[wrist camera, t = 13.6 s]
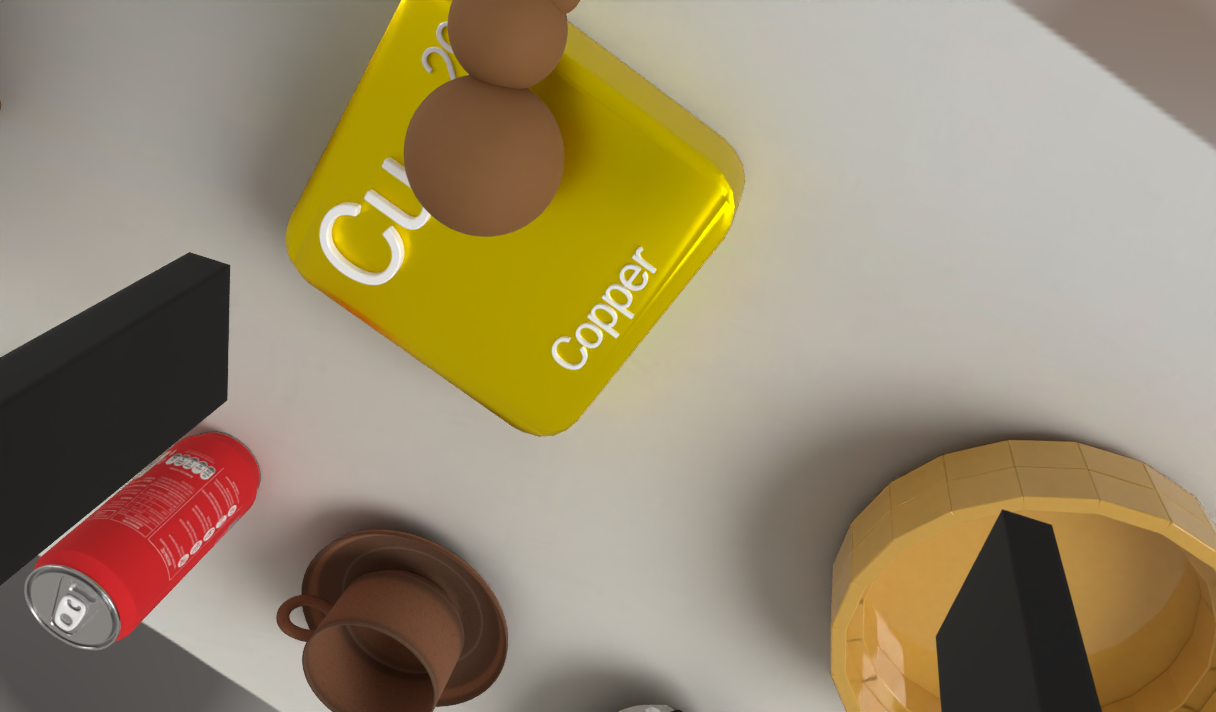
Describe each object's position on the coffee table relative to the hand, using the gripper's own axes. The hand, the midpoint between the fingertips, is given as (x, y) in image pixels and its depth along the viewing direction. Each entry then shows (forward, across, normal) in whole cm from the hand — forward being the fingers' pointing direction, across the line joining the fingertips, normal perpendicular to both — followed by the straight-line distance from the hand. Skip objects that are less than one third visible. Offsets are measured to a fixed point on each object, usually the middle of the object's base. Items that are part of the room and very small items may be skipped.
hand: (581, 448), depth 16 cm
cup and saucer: (+26, -11, -31) cm, 42 cm away
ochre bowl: (+26, +18, -18) cm, 37 cm away
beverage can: (+26, -23, -26) cm, 43 cm away
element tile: (+26, -9, -6) cm, 28 cm away
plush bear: (+18, -8, -5) cm, 21 cm away
